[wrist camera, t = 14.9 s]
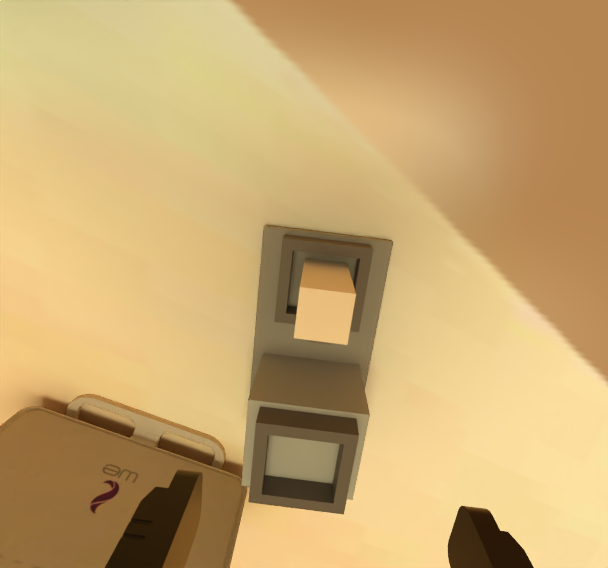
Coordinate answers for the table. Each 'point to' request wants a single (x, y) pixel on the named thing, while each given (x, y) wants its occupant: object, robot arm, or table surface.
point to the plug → (325, 302)
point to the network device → (100, 487)
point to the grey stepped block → (310, 376)
